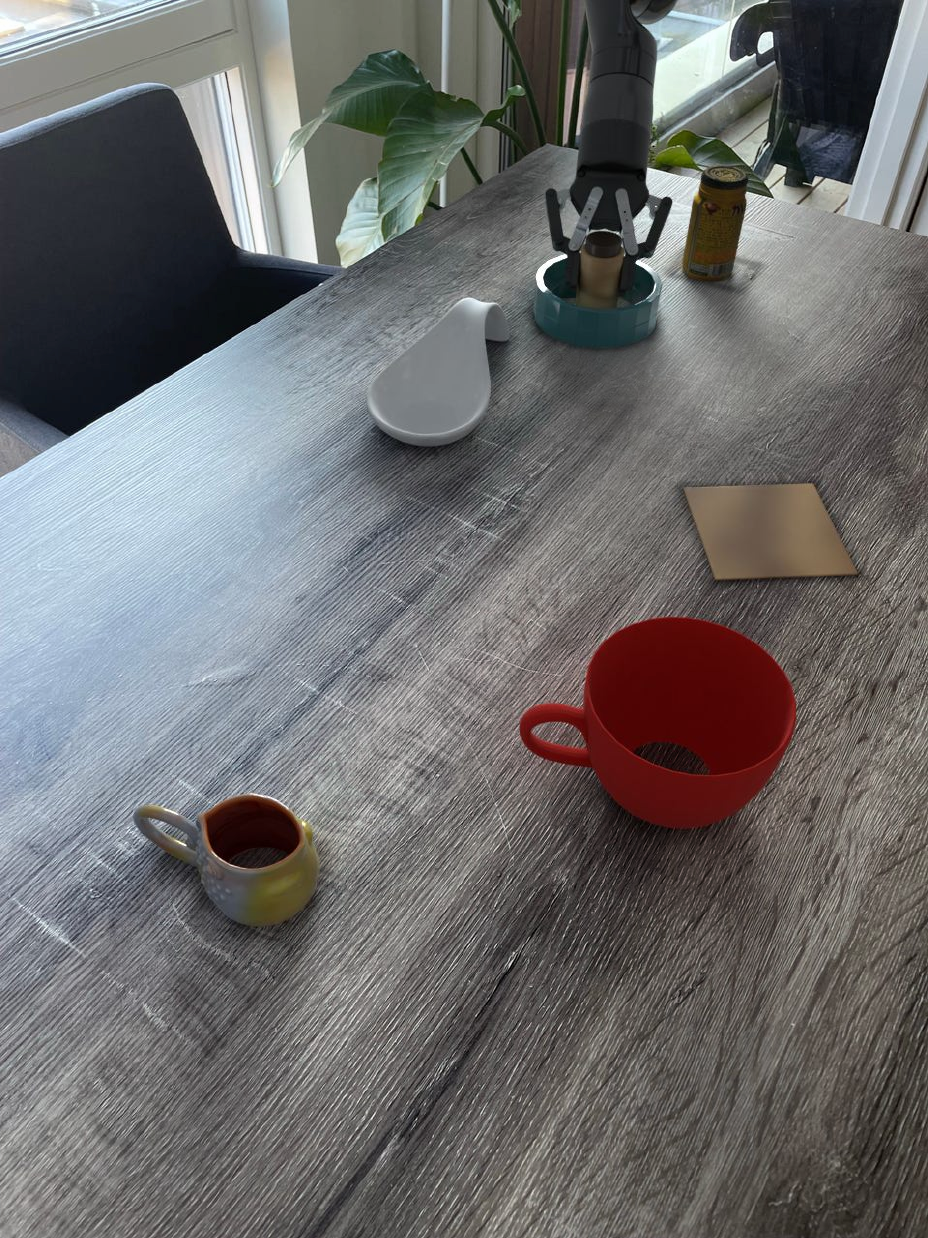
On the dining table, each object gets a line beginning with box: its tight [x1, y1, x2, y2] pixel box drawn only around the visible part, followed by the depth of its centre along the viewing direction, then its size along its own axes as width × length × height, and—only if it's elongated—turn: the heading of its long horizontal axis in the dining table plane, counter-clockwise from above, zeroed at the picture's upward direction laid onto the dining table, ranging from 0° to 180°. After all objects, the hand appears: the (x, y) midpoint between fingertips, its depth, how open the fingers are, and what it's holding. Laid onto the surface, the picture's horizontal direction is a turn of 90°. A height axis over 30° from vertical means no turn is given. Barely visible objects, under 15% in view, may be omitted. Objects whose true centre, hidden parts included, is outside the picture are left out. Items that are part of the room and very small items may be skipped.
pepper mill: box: [575, 230, 625, 309], centre depth 108 cm, size 5×5×9 cm
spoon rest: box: [365, 297, 510, 447], centre depth 99 cm, size 24×12×7 cm, turn 160°
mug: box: [132, 791, 321, 928], centre depth 61 cm, size 12×7×7 cm, turn 69°
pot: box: [532, 252, 663, 349], centre depth 110 cm, size 14×14×5 cm
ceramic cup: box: [518, 616, 797, 830], centre depth 65 cm, size 13×17×10 cm
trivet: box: [682, 483, 859, 581], centre depth 86 cm, size 12×12×1 cm
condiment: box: [681, 164, 756, 283], centre depth 115 cm, size 7×8×12 cm
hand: (598, 291), depth 107 cm, fingers closed on pepper mill, 4 cm apart
